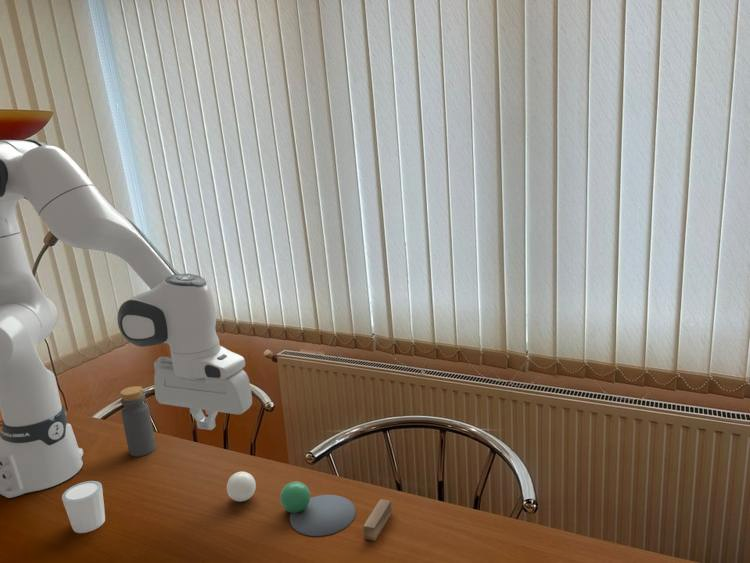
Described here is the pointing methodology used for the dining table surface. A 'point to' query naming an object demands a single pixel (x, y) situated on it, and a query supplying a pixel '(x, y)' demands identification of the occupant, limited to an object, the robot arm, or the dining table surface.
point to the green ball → (295, 497)
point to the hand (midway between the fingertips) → (206, 428)
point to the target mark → (323, 516)
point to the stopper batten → (377, 519)
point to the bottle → (137, 422)
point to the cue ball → (241, 486)
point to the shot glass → (85, 506)
